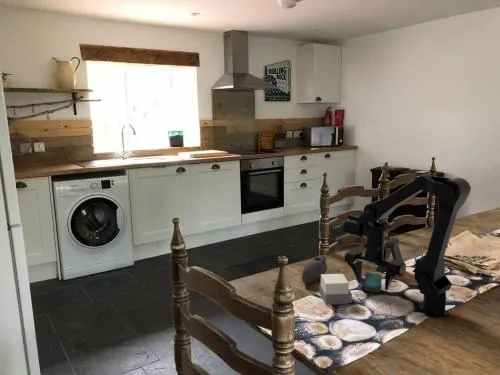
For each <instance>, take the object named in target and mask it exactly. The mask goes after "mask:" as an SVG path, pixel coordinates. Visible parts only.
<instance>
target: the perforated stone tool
mask: <svg viewBox="0 0 500 375" xmlns="http://www.w3.org/2000/svg"><path fill="white" fill-rule="evenodd" d="M326 258H327V257H326V256H325V255H322V254H320V255H318V256H315V257H314V258H312V259H310V261H308V262H307V264H306V265H305V266H304V268H303V269H302V272H301V280H302V283H304V284H312V283H314V282H316V281H317V280H319V279H321V274H326V272H327V269H328V266H327V260H326Z"/></svg>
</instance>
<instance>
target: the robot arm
mask: <svg viewBox="0 0 500 375" xmlns="http://www.w3.org/2000/svg"><path fill="white" fill-rule="evenodd" d="M423 191H424V192H426V193H428V194H431V195H432V196H437V199H436V200H437V205H438V211H437V215H436V219H435V223H434V225H433V229H432V233H431V236H430V240H429V243H428V247H427V250H426V254H424V255H423V256H421V257H419V258H417V259H416V261H415V264H414V265H415V267H414V269H413V270H412V273H414V274H413V278H414V280H415V282H416V283H417V287H418V290H419V293H420V294H422V295H423V297H422V304H418V305H417V307H418V309H420V311H422V312H423V313H424V315H425V316H427V317H428V318H437V317H438V318H440V317H450V316H451V313H449V311H447V310H446V305H447V292H448V291H450V289H451V288H452V286H453V283H452V282H451V281H450V278H448V277H447V276H446V273H445V271H446V264H445V261H444V260H445V258H444V257H445V254H446V251H447V247H448V244H449V240H450V238H451V234H452V232H453V228H454V224H455V222H456V218H457V215H458V212H459V211H460V209H461V208H462V207H463V205H464V204H465V203H466V200H467V199H468V197H469V195H470V193H471V185H470V183H469V182H468V181H467V180H466V179H464V178H462V177H455V178H449V177H443V176H437V175H432V174H428V173H426V174H420V175H418V176H417V175H416V177H414V179H413V180H411V181H409V182H408V183H406V184H405V185H403V186H402V187H400V188H399V189H397V190H396V191H394V192H393V193H391V194H389V195H388V196H386V197H384V198H382V199H378V200H376V201H372V202H371V203H368V204H366V205H365V206H364V207H363V212H362V213H361V214H360V216H359V215H356V214H353V213H350V214H347V219H346V220H345V221H344V224H343V232H344V233H345V234H346V235H350V236H354V237H358V238H364V237H365V243H364V244H363V248H364V249H365V251H364V255H363V252H362V251H359V250H356V249H350V250H349V251H347V252H346V253H344V255H343V261H344V262H345V263H347V265H348V266H349V267H350V268H351V271H353V273H354V276H355V278H356V280H357V282H358V284H361V283H362V274H363V273H362V266H363V263H367V264H372V265H375V266H377V267H378V266H382V267H386V268H387V271H388V272H386V273H384V274H385V276H384V277H385V278H384V290H385V291H386V292H387V291H388V290H389V288H390V286H391V283H393V282H392V281H393V279H394V278H395V277H397V276H396V275H400V274H401V273H403V272H404V271H405V270H406V271H407V264H406V262H405V260H403V261H400V260H395V259H393V258H392V259H391V260H390V261H389V260H388V261H384V260H383V259H386V258H387V257H389V258H390V257H391V254H392V253H391V248H388V247H386V243H387V242H385V237H386V235H385V233H386V231H389V230H391V229H392V225H390V224H389V222H388V221H386V220H385V221H382V222H378V221H381V220H383V219H386V218H387V217H388V216H390V215H391V214H392V213H393V212H394V210H395V209H396V208H397V207H399V206H400V205H402V204H404V203H405V202H407V201H408V200H410V199H412V198H413V197H415V196H417V195H418V194H420V193H422V192H423ZM406 271H405V272H406ZM405 272H404V273H405ZM404 273H403V274H404Z"/></svg>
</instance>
